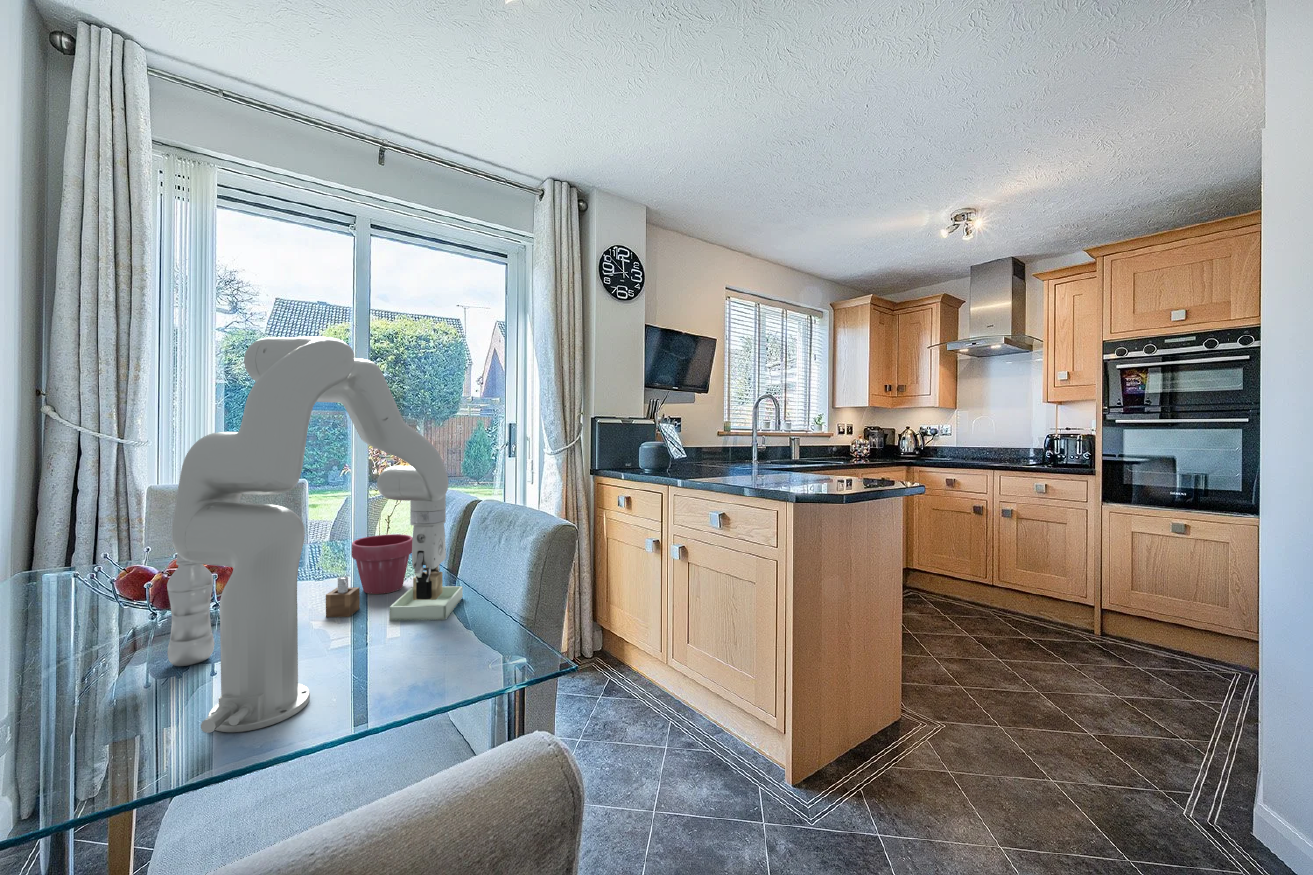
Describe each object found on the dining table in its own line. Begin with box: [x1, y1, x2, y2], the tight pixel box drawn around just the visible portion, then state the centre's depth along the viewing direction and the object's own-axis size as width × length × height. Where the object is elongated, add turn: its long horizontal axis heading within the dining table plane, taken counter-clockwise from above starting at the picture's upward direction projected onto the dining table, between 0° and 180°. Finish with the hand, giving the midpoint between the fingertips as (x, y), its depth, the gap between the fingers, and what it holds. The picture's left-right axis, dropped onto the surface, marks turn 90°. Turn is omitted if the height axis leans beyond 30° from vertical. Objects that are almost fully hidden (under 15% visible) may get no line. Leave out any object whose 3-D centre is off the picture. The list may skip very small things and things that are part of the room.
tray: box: [388, 585, 464, 621], centre depth 127 cm, size 14×12×3 cm
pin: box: [337, 576, 349, 593], centre depth 124 cm, size 2×2×8 cm
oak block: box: [412, 571, 444, 600], centre depth 127 cm, size 5×5×5 cm
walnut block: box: [325, 587, 361, 618], centre depth 124 cm, size 5×5×5 cm
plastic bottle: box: [166, 553, 215, 667], centre depth 98 cm, size 6×7×20 cm
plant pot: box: [351, 533, 413, 595], centre depth 141 cm, size 14×14×13 cm
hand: (428, 593), depth 127 cm, fingers closed on oak block, 5 cm apart
